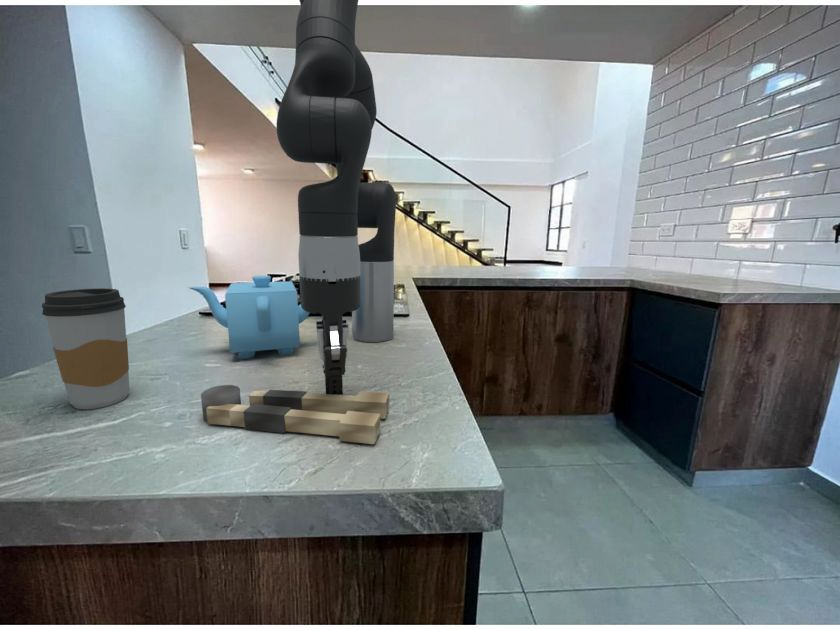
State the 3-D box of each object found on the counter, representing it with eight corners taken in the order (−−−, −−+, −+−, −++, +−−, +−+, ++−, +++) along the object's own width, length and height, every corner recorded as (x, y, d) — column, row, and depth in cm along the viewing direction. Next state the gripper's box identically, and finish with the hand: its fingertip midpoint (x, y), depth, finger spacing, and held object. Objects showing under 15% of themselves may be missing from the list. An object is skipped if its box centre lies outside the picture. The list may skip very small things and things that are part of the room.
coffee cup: (128, 383, 59) (114, 286, 55) (147, 398, 53) (131, 292, 50) (54, 400, 52) (33, 292, 49) (67, 420, 47) (44, 300, 44)
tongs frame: (186, 427, 46) (183, 402, 45) (218, 406, 52) (216, 383, 51) (373, 446, 43) (373, 420, 42) (386, 421, 49) (386, 397, 48)
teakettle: (267, 370, 65) (261, 285, 62) (190, 354, 72) (182, 277, 69) (333, 342, 82) (331, 274, 79) (266, 332, 89) (262, 268, 86)
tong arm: (248, 412, 50) (246, 395, 49) (259, 402, 53) (258, 386, 52) (385, 419, 49) (385, 402, 48) (388, 409, 52) (389, 392, 51)
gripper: (299, 266, 54) (305, 381, 58) (298, 280, 41) (306, 425, 45) (353, 265, 56) (355, 377, 60) (367, 279, 43) (369, 418, 47)
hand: (334, 397), depth 53 cm, fingers closed
